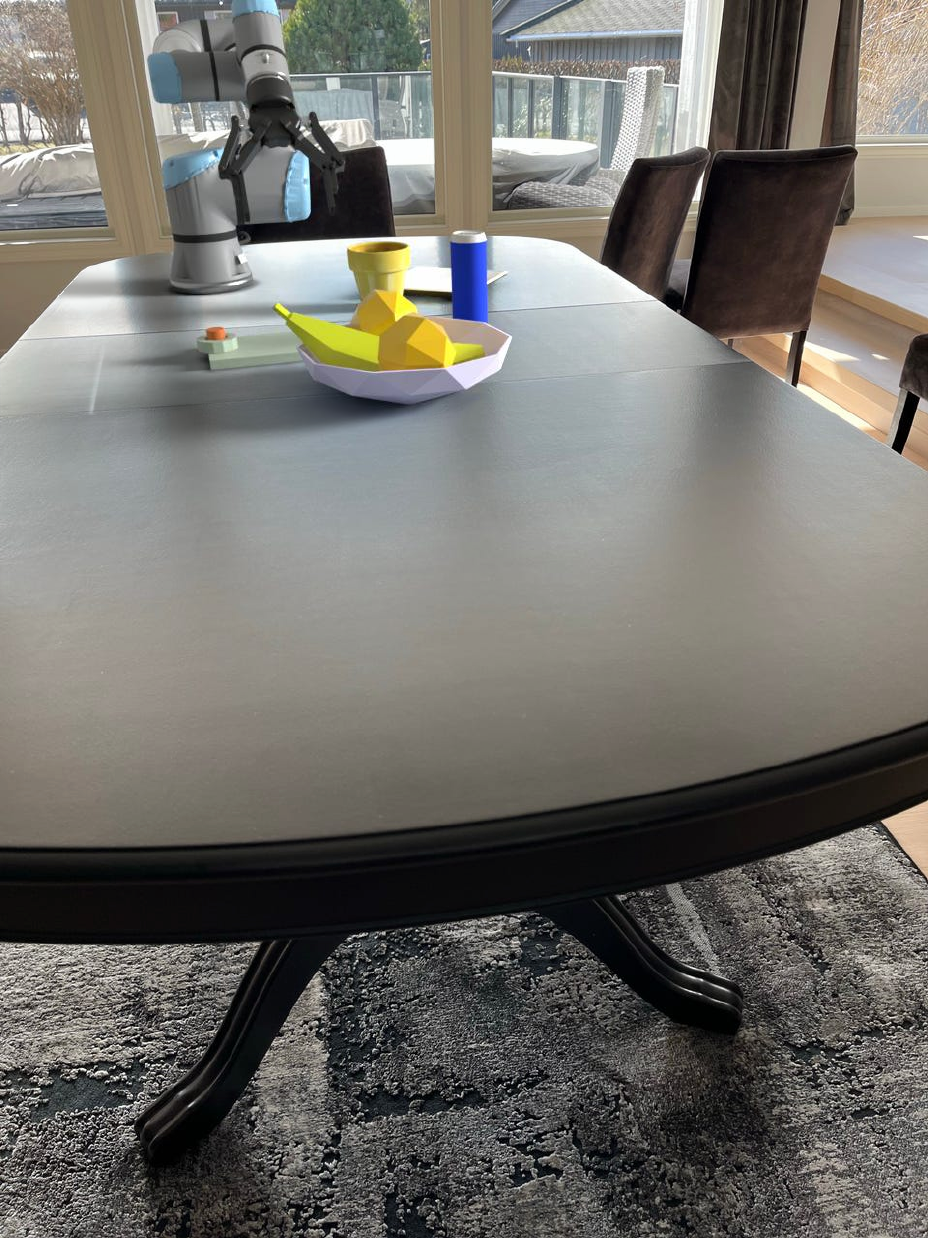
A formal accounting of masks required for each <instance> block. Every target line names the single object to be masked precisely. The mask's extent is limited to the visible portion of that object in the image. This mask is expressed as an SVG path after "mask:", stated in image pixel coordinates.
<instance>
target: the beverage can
mask: <svg viewBox="0 0 928 1238" xmlns="http://www.w3.org/2000/svg"><path fill="white" fill-rule="evenodd" d="M449 244H450V245H449V246H450V249H449V250H450V268H451V280H452V299H451V305H452V307H451V308H452V319H459V320H467V321H476V322H485V323H487V324H489V311H488V310H489V309H488V308H489V307H488V303H489V302H488V301H489V300H488V297H489V296H488V286H487V270H488V239H487V237H486V234H485V232H484V231H483V230H476V229H468V230H467V229H466V230H456V231H453V232H452V233H451V235H450V241H449Z"/></svg>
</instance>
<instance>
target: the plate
mask: <svg viewBox="0 0 928 1238" xmlns="http://www.w3.org/2000/svg"><path fill="white" fill-rule="evenodd" d="M508 273H509V271H506V270H497V269H487V287H488V286H490V285H492V284H493V283H495V282H497V281H498V280H500V279H502V278H504V277H505V276H507V275H508ZM403 297H417V298H418V297H419V298H435V299H436V298H437V299H451V300H452V280H451V267H432V266H416V267H414V268H411V269H409V270H407V271H406V278H405V284H404V291H403Z"/></svg>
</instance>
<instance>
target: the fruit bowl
mask: <svg viewBox="0 0 928 1238" xmlns="http://www.w3.org/2000/svg"><path fill="white" fill-rule="evenodd" d="M272 311H274V312H275V313H276V314H278V315H279V316H280V317H281V318H282V319H283V320H285V325H286V326H287V328H289V330H291V332H292V331H293V332H294V333H295V335H296V336H297V337H298V338H299V339H300V340H301V341H302V342H303V343H302V344H300V345H299V346H297V347H296V348H297V350H298V352H299V354H300V356H301V358H302V359H303V361H302V362H303V364H304V365H305V367H306V369H307V371H308V373H309V374H310V376H311V378H312V379H313V380H314V381H316V382H318V383H321V384H323V385H326V386H328V387H330V388H333V389H335V390H337V391H340V392H342V393H344V394H347V395H350V396H352V397H358V398H363V399H370V400H376V401H377V400H378V401H383V402H388V403H389V402H391V403H394V404H402V405H407V406H411V405H415V404H418V403H422V402H425V401H429V400H432V399H433V400H434V399H437V398H440V397H444V396H448V395H451V394H455V393H458V392H462V391H466V390H468V389H470V388H472V387H473V386H475V385H476V384H478V383H480V382H481V381H483V380H485V379H487V378H488V377H490V376H492V375H494V374H495V373H497V372H499V371H500V370H501V369H502V365H503V363H504V360H505V358H506V355H507V352H508V349H509V346H510V344H511V341H512V338H513V336H512V335H510V334H508V333H506V332H505V331H502V330H500V329H498V328H496V327H495V326H493V325H491V324H490V323H488V324H487V323H485V322H476V321H467V320H459V319H453V318H451V317H440V316H432V315H431V316H423V315H422V314H419V312H418V309H417V306H416V305H415V304H414V303H413V302H412V301H410V300H409V299H407V298H406V296H402V295H401V294H400V293H398V292H394V291H384V290H375V289H373V290H372V291H371V292H370V293H369V294H368V295H367V296H366V297H365V298H364V299H363V300H362V301H361V300H360V302H359V303H358V304H357V306H356V307H355V310H354V312H353V314H352V317H351V319H350V322H349V323H348V324H344V325H342V324H341V325H340V324H337V323H333V322H329V321H327V320H323V319H319V318H315V317H311V316H309V315H305V314H302V313H297V312H295V311H294V312H290V311H289V310H288V309H287V308H285V307H284V306H283V305H282V304H281V303H279V302H276V303H275V305H273V306H272Z"/></svg>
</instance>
